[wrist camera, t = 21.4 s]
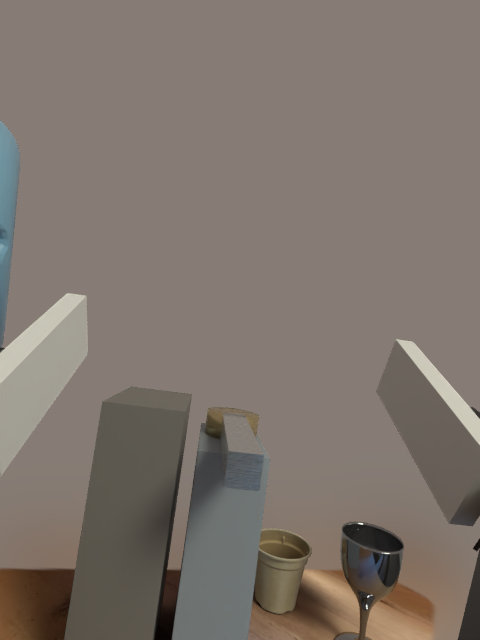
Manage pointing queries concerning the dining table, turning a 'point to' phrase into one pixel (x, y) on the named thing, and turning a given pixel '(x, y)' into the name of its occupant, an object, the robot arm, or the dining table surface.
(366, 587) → the wine glass
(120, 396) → the tall stand
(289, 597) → the flower pot
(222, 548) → the short stand
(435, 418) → the robot arm
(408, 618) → the dining table surface
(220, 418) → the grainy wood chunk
